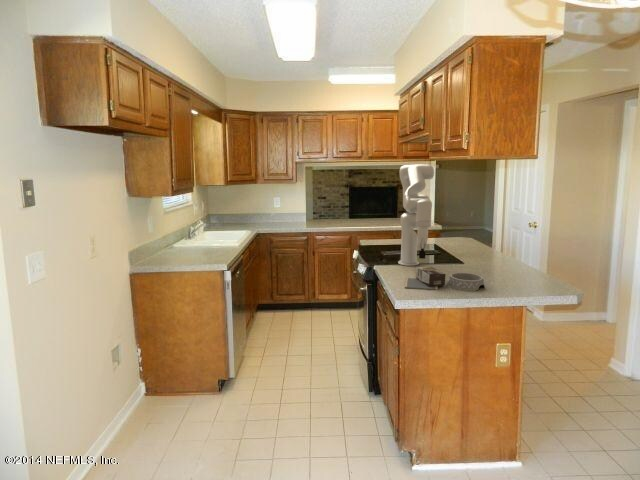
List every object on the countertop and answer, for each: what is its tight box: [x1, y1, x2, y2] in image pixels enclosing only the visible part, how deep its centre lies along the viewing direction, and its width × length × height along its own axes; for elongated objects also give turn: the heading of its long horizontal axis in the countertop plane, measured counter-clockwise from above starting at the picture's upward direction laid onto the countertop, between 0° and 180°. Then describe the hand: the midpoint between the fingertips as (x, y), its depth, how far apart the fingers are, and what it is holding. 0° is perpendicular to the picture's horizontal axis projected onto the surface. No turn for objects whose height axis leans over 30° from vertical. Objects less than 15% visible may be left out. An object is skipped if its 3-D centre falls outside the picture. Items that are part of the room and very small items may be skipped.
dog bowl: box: [447, 272, 486, 292], centre depth 231 cm, size 17×18×5 cm
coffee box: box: [415, 266, 447, 287], centre depth 235 cm, size 9×6×16 cm
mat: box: [404, 277, 439, 291], centre depth 234 cm, size 18×16×1 cm
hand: (422, 258), depth 240 cm, fingers closed
